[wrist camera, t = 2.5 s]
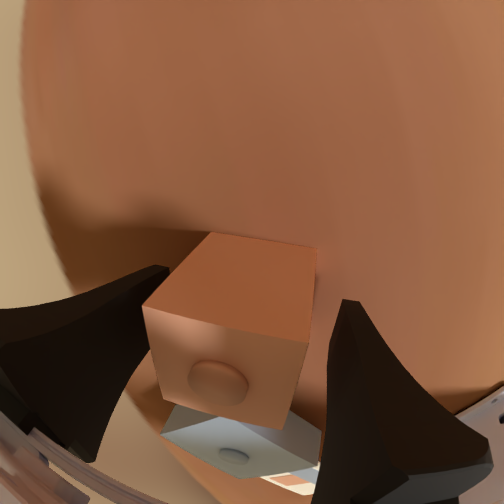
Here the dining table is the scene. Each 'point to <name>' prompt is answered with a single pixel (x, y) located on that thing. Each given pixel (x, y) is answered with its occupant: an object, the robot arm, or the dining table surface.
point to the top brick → (234, 328)
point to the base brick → (244, 443)
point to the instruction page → (297, 480)
